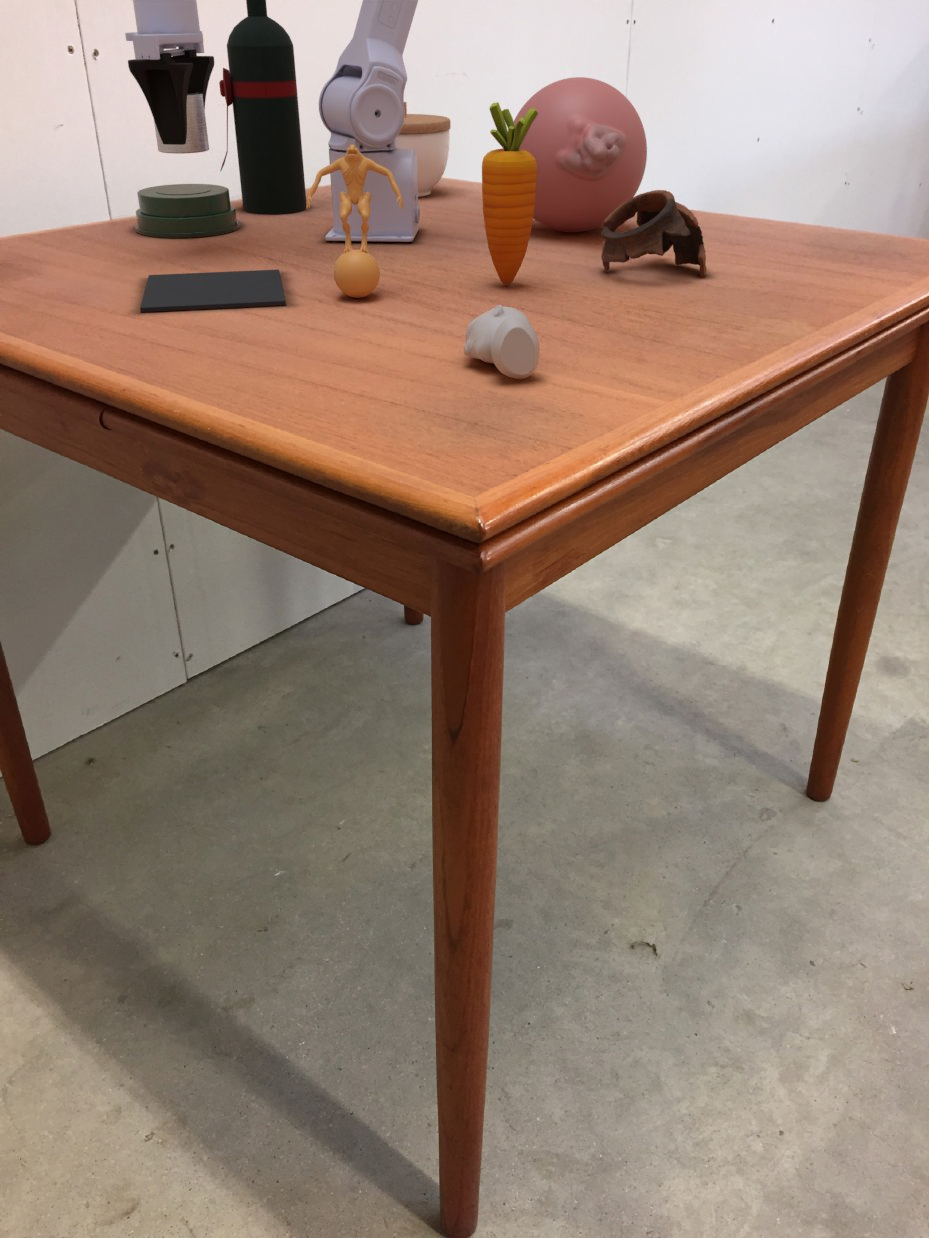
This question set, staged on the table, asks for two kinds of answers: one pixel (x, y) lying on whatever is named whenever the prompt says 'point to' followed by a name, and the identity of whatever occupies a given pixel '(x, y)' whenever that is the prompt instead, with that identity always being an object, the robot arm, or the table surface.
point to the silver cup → (190, 128)
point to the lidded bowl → (426, 146)
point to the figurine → (357, 266)
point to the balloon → (583, 152)
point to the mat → (213, 290)
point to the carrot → (508, 193)
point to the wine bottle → (265, 113)
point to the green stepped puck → (185, 211)
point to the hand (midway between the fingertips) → (183, 141)
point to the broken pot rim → (654, 231)
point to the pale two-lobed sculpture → (504, 341)
